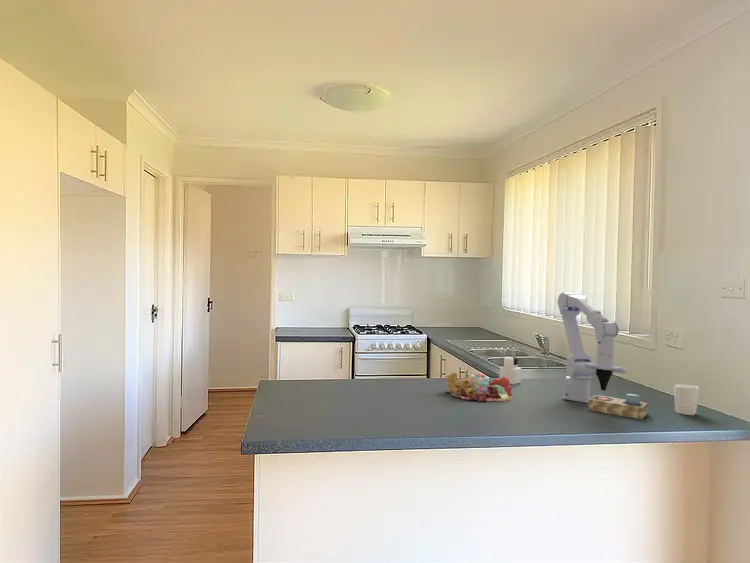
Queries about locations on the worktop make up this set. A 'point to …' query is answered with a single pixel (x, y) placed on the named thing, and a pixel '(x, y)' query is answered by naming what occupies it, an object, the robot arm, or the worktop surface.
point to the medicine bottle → (511, 370)
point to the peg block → (617, 407)
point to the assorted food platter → (479, 387)
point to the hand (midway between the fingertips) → (603, 390)
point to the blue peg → (632, 399)
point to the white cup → (686, 399)
